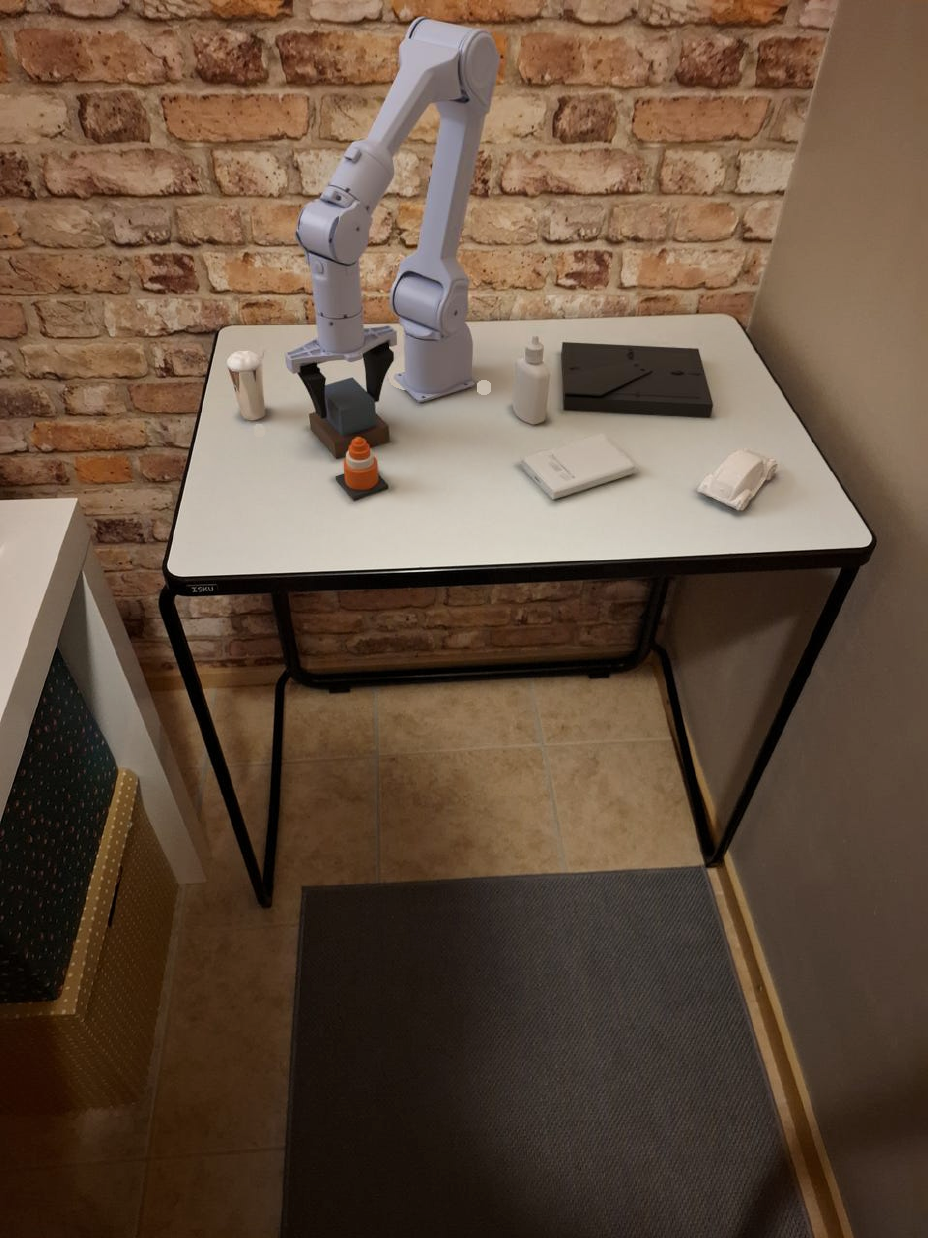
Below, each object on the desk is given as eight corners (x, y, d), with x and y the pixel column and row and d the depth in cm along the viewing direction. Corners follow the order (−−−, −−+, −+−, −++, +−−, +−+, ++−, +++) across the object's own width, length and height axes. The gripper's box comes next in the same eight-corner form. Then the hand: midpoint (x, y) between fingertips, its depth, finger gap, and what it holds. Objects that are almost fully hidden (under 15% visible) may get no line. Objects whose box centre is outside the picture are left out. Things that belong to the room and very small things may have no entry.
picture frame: (563, 410, 122) (709, 417, 121) (565, 392, 120) (714, 399, 119) (561, 354, 132) (695, 360, 132) (562, 337, 130) (699, 343, 130)
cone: (370, 468, 111) (367, 421, 106) (388, 488, 108) (386, 441, 103) (335, 479, 109) (330, 433, 104) (353, 500, 106) (349, 454, 101)
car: (737, 518, 106) (746, 487, 102) (692, 497, 108) (700, 467, 105) (780, 474, 112) (791, 444, 109) (737, 455, 115) (746, 426, 111)
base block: (362, 413, 120) (361, 397, 118) (389, 441, 115) (389, 425, 114) (310, 429, 117) (308, 413, 115) (336, 459, 112) (334, 443, 111)
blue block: (354, 403, 117) (352, 376, 114) (376, 426, 113) (375, 399, 111) (321, 413, 115) (318, 386, 112) (342, 436, 112) (340, 410, 109)
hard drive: (634, 475, 111) (553, 501, 107) (598, 442, 116) (520, 466, 112) (636, 464, 110) (554, 491, 106) (600, 432, 115) (521, 456, 111)
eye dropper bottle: (541, 403, 123) (549, 325, 114) (546, 425, 119) (554, 346, 110) (511, 404, 122) (516, 325, 114) (515, 426, 119) (521, 346, 110)
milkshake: (269, 426, 117) (257, 359, 110) (232, 421, 118) (218, 354, 111) (280, 408, 120) (270, 342, 113) (244, 403, 121) (232, 337, 114)
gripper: (296, 336, 98) (309, 436, 108) (407, 307, 104) (410, 405, 113) (272, 311, 102) (287, 410, 112) (380, 284, 108) (385, 381, 117)
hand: (347, 406), depth 113 cm, fingers open, 7 cm apart
